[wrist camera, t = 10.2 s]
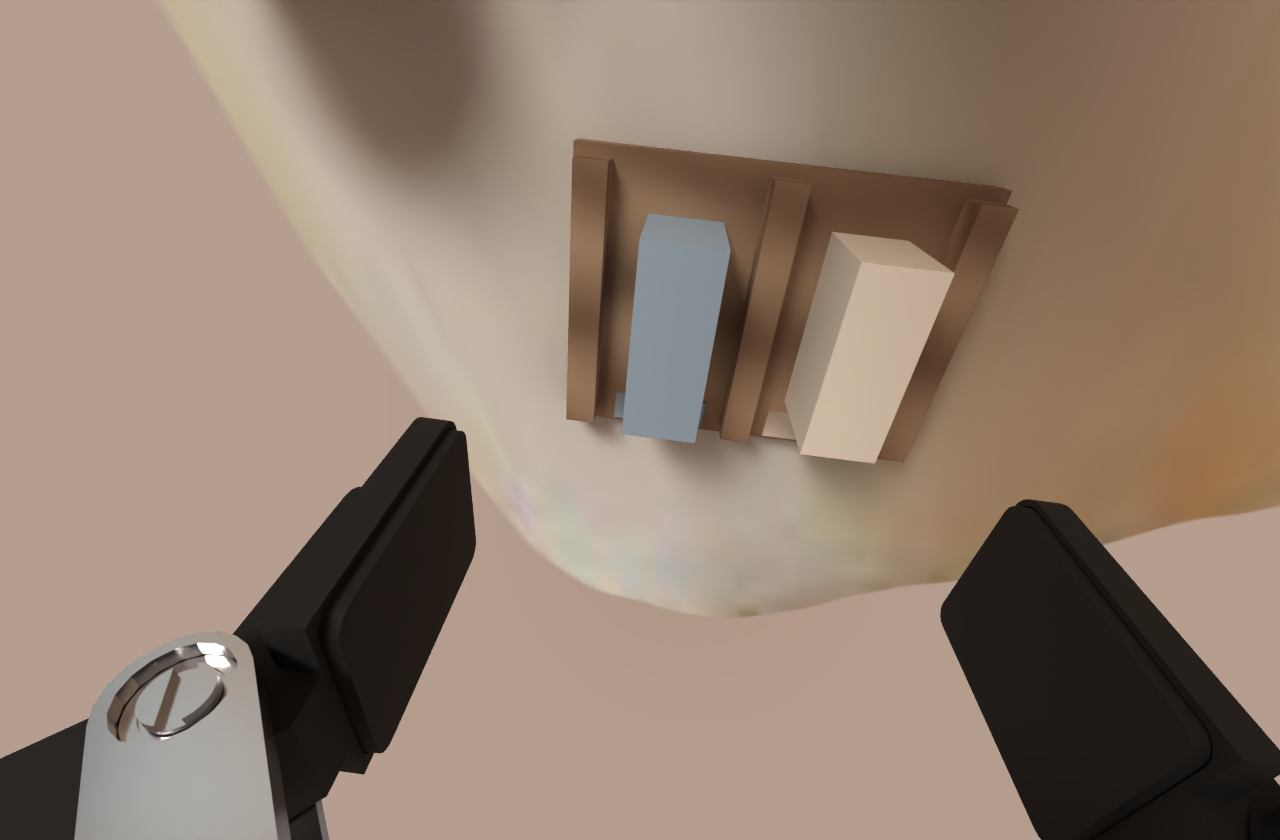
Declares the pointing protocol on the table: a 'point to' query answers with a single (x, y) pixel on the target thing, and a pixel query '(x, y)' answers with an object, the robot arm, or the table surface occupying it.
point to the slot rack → (760, 270)
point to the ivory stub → (862, 343)
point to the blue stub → (673, 325)
